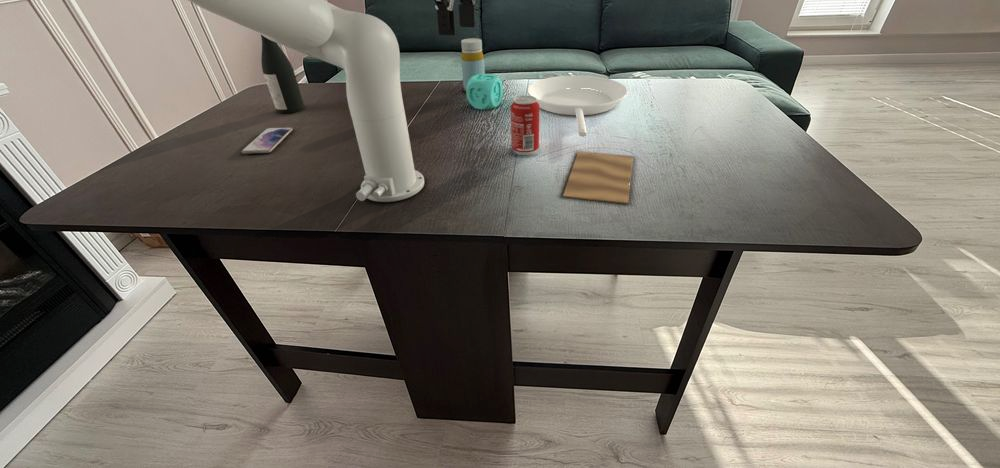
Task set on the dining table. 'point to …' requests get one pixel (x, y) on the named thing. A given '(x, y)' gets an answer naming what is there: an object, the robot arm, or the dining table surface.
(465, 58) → the bottle
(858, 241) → the dining table surface
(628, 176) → the wooden trivet
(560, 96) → the pan
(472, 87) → the decorative dice
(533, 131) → the beverage can
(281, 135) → the smartphone
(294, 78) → the wine bottle
